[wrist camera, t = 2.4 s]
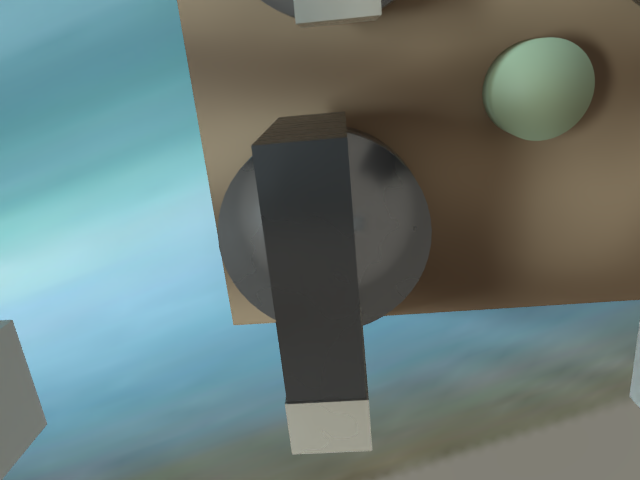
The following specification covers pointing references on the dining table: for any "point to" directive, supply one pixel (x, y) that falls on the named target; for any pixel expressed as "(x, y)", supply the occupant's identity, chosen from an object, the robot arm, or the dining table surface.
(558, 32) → the base
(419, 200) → the knob
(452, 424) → the dining table surface
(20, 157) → the dining table surface
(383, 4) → the knob
